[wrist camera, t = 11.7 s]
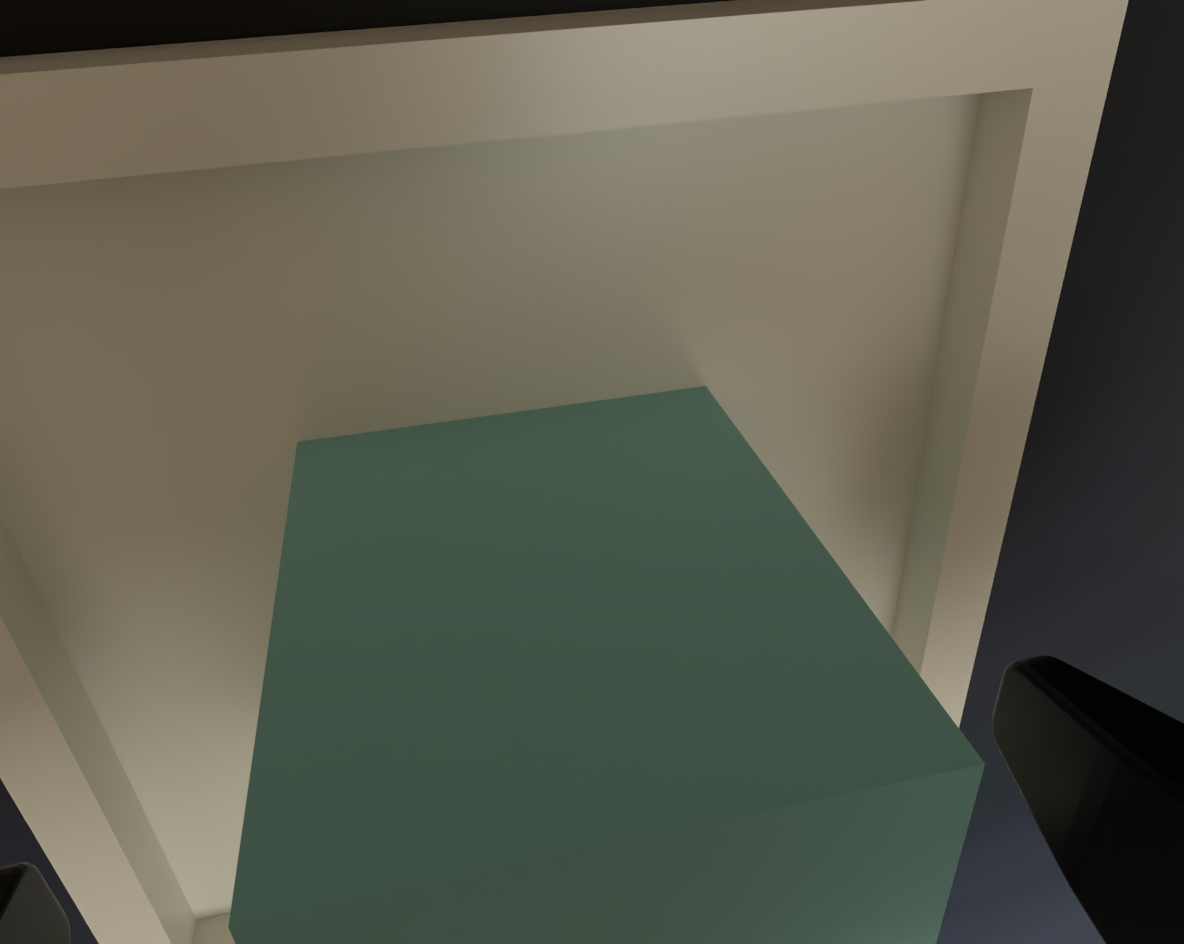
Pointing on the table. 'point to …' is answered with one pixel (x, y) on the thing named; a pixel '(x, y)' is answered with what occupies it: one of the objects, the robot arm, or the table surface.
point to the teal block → (584, 701)
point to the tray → (491, 332)
